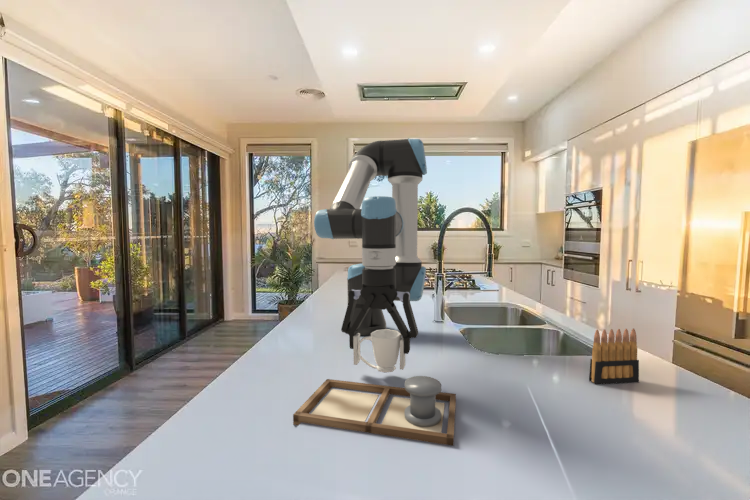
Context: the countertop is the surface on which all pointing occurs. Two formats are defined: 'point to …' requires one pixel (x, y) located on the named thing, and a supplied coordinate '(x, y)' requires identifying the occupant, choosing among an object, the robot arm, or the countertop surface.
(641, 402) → the countertop surface
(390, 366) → the cup
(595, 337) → the ammunition clip
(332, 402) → the slot tray
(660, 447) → the countertop surface
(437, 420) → the doorknob
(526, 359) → the countertop surface
